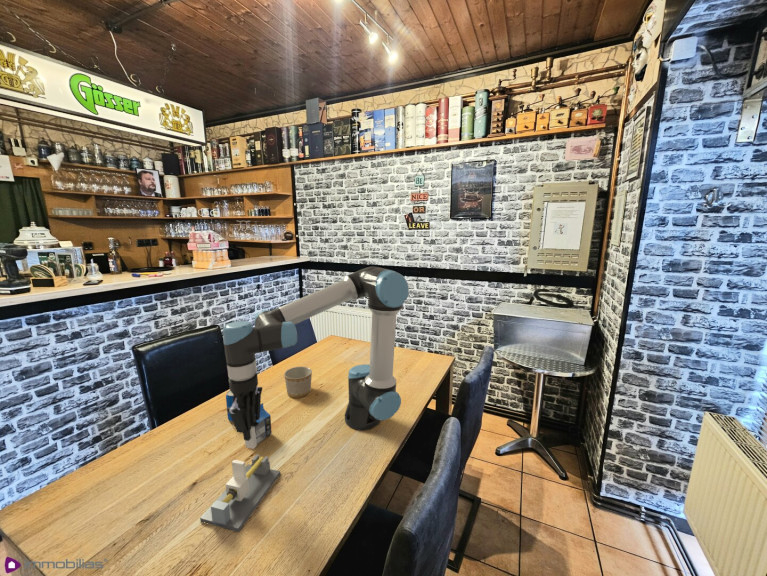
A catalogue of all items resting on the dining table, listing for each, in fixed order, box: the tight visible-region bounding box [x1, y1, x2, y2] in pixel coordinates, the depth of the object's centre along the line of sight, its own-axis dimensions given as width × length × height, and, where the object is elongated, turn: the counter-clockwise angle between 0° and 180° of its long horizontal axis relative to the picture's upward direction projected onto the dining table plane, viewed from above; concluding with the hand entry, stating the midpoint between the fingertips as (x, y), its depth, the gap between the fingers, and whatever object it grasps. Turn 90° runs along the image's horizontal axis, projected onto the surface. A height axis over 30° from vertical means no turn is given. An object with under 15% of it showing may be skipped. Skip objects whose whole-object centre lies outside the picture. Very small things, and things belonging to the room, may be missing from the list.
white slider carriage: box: [225, 459, 249, 501], centre depth 90 cm, size 5×4×10 cm
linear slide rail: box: [199, 454, 281, 533], centre depth 93 cm, size 12×20×6 cm, turn 166°
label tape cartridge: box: [255, 403, 273, 445], centre depth 116 cm, size 9×4×12 cm, turn 151°
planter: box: [283, 366, 313, 399], centre depth 149 cm, size 13×13×10 cm
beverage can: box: [225, 389, 233, 423], centre depth 129 cm, size 6×6×12 cm
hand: (251, 446), depth 95 cm, fingers closed
